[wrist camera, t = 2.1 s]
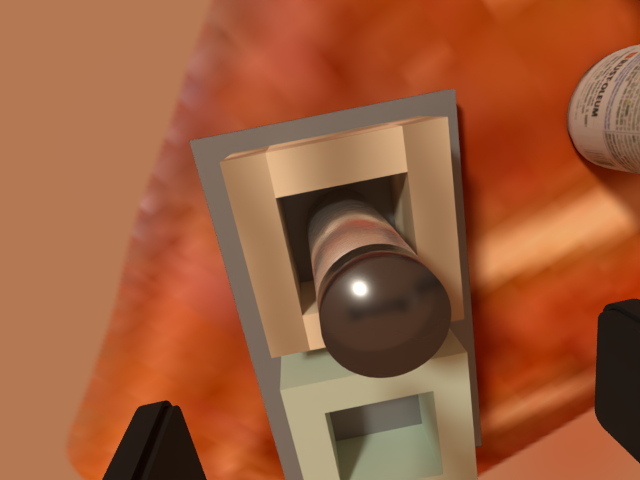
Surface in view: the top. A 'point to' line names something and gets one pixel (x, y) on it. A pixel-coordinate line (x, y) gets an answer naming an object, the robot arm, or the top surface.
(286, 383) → the sage dock
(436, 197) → the maple mount
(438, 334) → the steel pin
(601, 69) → the spray can
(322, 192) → the base board
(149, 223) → the top surface
